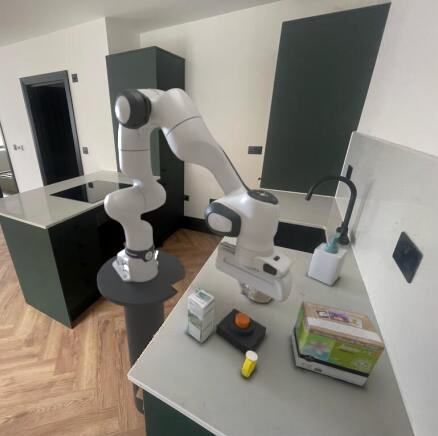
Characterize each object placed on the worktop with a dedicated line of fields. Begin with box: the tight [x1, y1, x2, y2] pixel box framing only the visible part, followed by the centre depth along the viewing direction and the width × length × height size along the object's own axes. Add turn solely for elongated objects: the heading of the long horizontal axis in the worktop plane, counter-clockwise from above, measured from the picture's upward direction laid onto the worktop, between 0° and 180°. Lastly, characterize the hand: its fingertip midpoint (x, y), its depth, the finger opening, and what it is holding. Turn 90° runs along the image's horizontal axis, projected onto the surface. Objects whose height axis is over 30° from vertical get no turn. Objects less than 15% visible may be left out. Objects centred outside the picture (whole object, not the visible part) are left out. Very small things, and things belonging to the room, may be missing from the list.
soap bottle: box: [307, 232, 348, 287], centre depth 92 cm, size 9×9×19 cm
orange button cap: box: [235, 312, 251, 329], centre depth 69 cm, size 4×4×2 cm
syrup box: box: [186, 287, 216, 344], centre depth 69 cm, size 6×6×14 cm
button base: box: [215, 308, 267, 356], centre depth 70 cm, size 11×10×5 cm
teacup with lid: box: [246, 285, 272, 304], centre depth 83 cm, size 12×9×12 cm
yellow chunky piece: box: [241, 350, 259, 378], centre depth 59 cm, size 6×3×6 cm, turn 135°
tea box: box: [290, 300, 386, 387], centre depth 60 cm, size 15×10×15 cm
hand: (246, 295), depth 65 cm, fingers closed
